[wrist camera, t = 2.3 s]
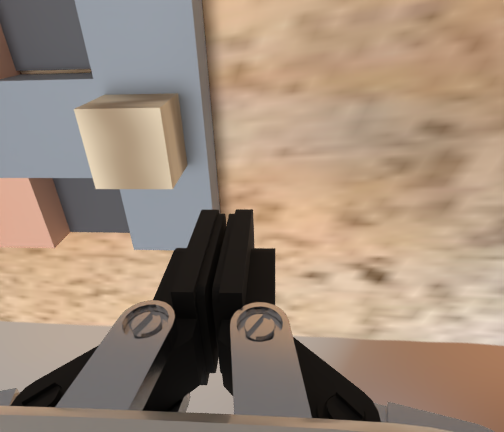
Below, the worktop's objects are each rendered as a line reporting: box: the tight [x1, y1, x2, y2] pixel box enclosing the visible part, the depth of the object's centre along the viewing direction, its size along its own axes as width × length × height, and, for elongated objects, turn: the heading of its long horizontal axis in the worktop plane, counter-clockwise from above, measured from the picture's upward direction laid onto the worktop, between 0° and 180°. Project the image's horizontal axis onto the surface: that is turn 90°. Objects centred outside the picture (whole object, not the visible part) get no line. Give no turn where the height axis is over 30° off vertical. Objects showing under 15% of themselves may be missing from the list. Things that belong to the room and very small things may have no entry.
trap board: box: [0, 0, 220, 250], centre depth 25 cm, size 21×20×6 cm
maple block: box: [74, 93, 187, 189], centre depth 23 cm, size 5×5×4 cm
